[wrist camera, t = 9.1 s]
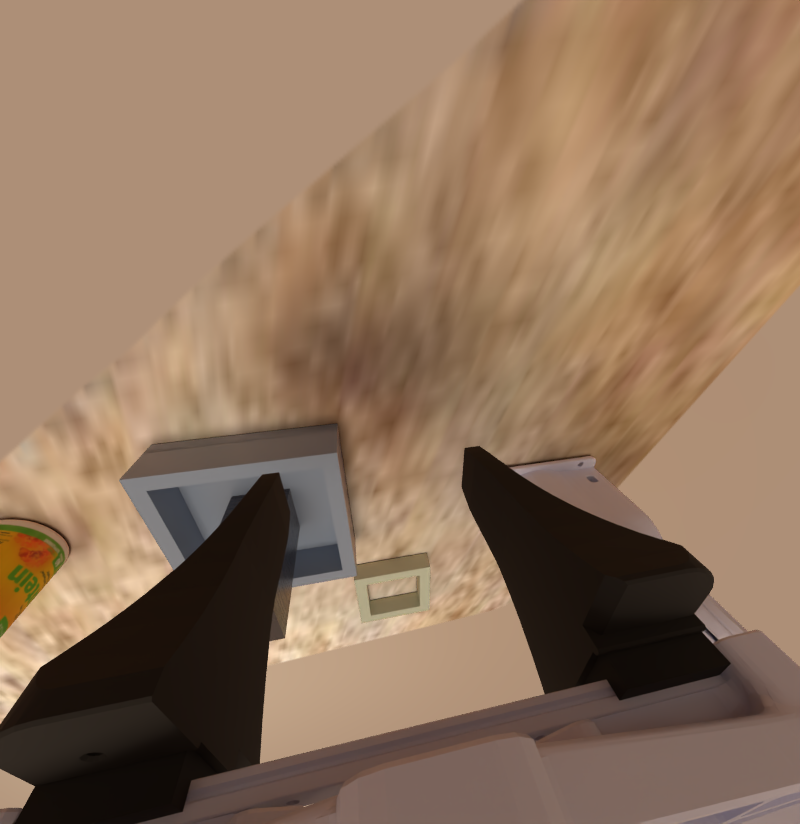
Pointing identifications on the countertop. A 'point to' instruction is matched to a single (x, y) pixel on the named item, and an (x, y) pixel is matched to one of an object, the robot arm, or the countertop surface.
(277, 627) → the dark wooden post
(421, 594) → the holder
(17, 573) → the supplement bottle
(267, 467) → the tray
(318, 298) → the countertop surface
